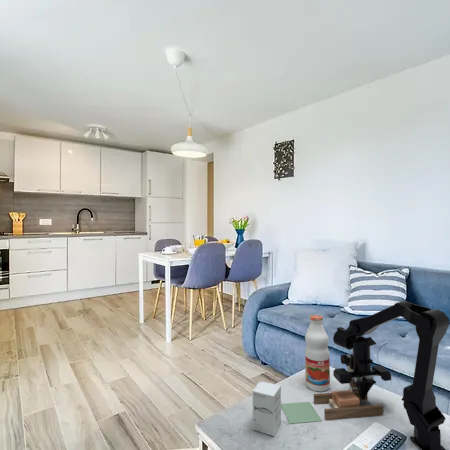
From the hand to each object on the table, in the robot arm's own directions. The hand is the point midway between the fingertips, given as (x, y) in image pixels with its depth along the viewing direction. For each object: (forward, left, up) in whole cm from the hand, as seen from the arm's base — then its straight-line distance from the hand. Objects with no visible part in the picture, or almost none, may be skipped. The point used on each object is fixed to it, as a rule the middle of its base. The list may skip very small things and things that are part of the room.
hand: (362, 398), depth 107 cm
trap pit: (0, -1, -3) cm, 3 cm away
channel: (0, +6, -3) cm, 7 cm away
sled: (0, +7, -3) cm, 7 cm away
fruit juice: (+16, +10, -3) cm, 19 cm away
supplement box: (-6, +36, -3) cm, 36 cm away
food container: (+14, -6, -3) cm, 16 cm away
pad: (0, +23, -3) cm, 23 cm away
